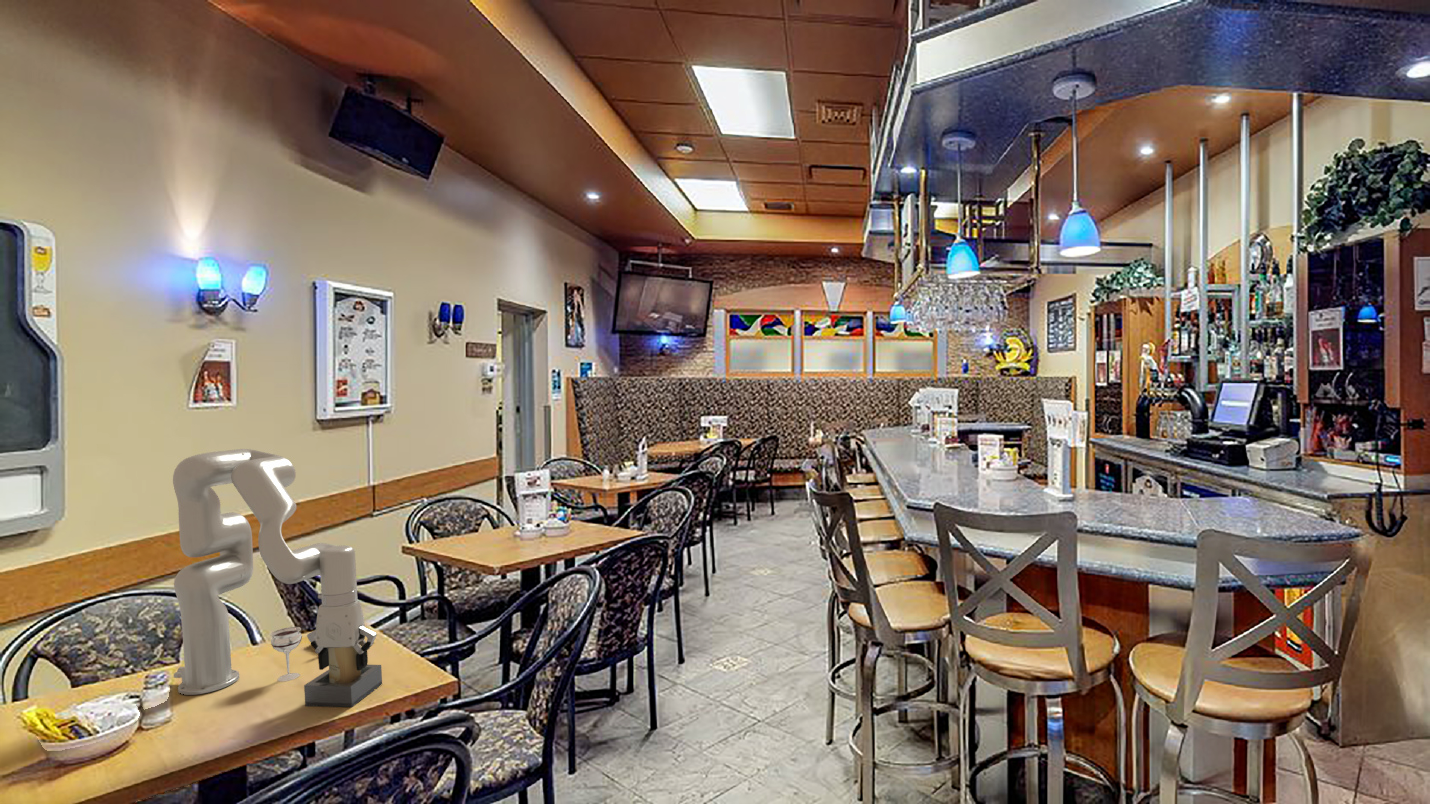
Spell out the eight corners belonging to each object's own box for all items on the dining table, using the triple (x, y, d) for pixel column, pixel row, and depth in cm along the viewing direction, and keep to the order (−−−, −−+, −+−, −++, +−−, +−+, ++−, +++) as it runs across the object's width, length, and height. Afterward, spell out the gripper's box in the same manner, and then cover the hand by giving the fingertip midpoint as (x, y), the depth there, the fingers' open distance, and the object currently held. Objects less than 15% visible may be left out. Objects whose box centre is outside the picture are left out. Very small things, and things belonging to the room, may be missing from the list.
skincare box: (329, 692, 165) (326, 642, 165) (345, 685, 169) (343, 636, 169) (346, 697, 162) (343, 646, 162) (363, 689, 166) (360, 639, 166)
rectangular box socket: (305, 706, 161) (304, 685, 160) (338, 683, 172) (337, 664, 172) (352, 707, 159) (350, 686, 159) (382, 684, 171) (381, 664, 171)
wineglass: (309, 671, 180) (307, 626, 180) (291, 683, 174) (288, 636, 173) (285, 671, 181) (283, 626, 181) (266, 682, 174) (264, 636, 174)
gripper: (295, 603, 162) (299, 674, 163) (363, 603, 160) (367, 675, 161) (317, 593, 170) (321, 661, 170) (382, 593, 168) (386, 662, 168)
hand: (343, 667), depth 166 cm, fingers open, 9 cm apart
